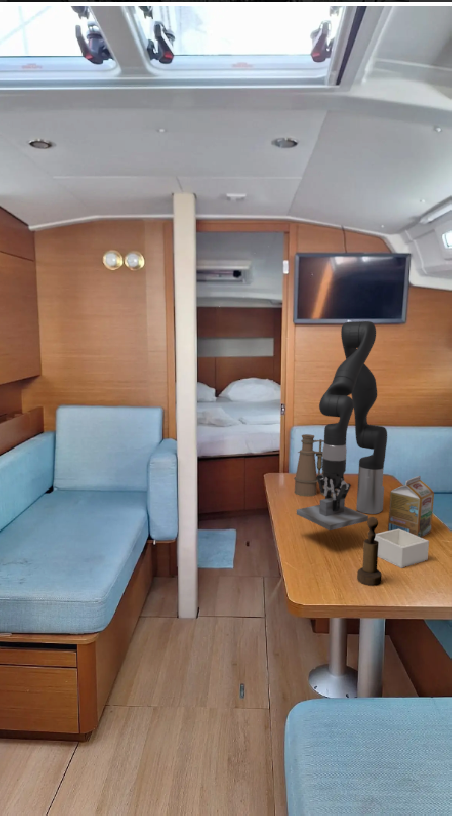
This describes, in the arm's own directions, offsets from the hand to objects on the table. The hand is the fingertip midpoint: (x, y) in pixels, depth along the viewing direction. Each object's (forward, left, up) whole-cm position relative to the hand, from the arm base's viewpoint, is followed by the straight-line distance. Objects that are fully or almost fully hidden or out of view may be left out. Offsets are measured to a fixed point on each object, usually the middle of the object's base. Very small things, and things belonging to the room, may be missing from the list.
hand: (331, 508), depth 171 cm
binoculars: (-32, -43, -11) cm, 55 cm away
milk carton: (-31, +6, -11) cm, 33 cm away
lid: (0, 0, -3) cm, 3 cm away
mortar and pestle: (+9, +26, -11) cm, 30 cm away
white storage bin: (-11, +19, -11) cm, 24 cm away
